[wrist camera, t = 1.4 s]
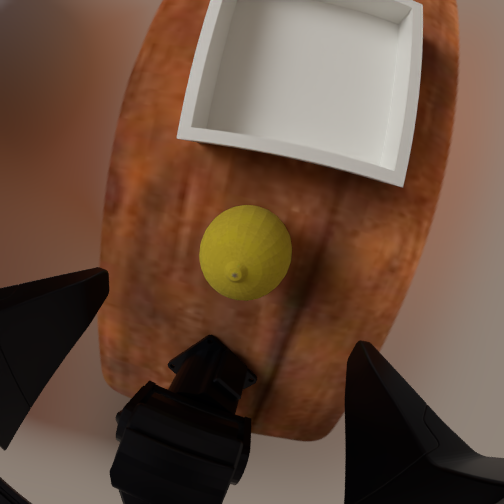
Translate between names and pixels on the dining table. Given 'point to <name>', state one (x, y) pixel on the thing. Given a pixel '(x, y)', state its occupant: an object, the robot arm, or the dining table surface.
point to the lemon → (245, 252)
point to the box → (309, 82)
